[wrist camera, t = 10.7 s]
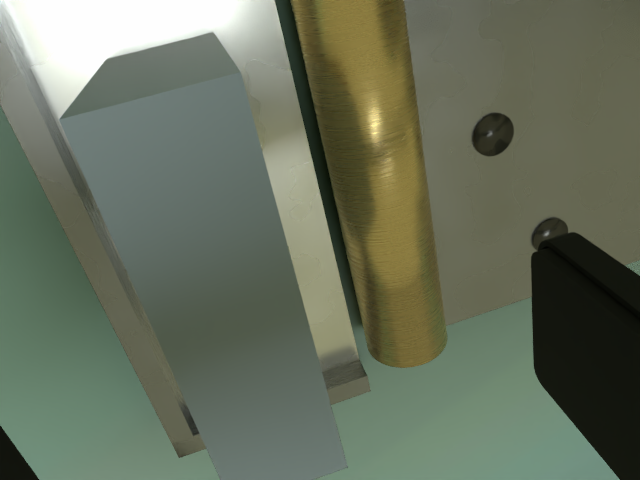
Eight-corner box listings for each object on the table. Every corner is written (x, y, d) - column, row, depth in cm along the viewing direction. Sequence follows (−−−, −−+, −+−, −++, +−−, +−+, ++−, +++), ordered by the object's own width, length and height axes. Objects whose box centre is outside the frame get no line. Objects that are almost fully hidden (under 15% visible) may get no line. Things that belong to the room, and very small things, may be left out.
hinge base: (611, 278, 24) (666, 315, 21) (178, 426, 22) (179, 488, 19) (640, -232, 15) (737, -275, 13) (-64, -73, 13) (-123, -83, 11)
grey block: (213, 32, 15) (240, 72, 9) (294, 315, 20) (347, 467, 14) (103, 59, 15) (54, 120, 9) (212, 341, 20) (230, 509, 13)
